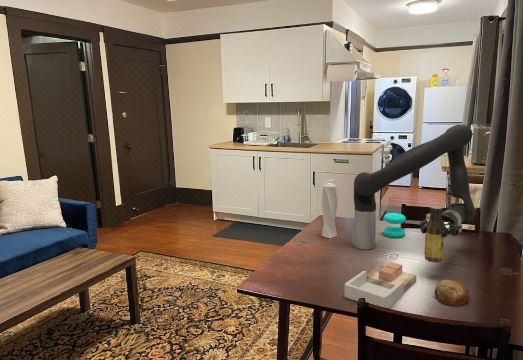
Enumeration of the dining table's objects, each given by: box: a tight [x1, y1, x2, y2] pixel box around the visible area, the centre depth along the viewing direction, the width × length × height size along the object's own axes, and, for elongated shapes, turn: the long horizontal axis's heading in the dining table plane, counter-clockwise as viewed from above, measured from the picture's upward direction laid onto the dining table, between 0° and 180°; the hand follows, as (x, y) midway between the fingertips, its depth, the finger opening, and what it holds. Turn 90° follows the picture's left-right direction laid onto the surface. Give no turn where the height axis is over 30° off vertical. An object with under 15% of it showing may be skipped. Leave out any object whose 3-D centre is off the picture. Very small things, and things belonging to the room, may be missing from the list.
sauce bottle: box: [424, 205, 445, 263], centre depth 139 cm, size 6×6×20 cm
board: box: [367, 264, 417, 294], centre depth 139 cm, size 14×12×2 cm
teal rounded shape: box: [382, 212, 407, 239], centre depth 186 cm, size 10×10×10 cm
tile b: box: [379, 265, 397, 282], centre depth 137 cm, size 4×4×3 cm
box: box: [343, 270, 404, 309], centre depth 130 cm, size 15×14×4 cm
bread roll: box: [433, 279, 470, 307], centre depth 126 cm, size 10×10×8 cm
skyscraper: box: [321, 178, 338, 238], centre depth 185 cm, size 8×8×28 cm
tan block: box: [384, 261, 403, 277], centre depth 140 cm, size 4×4×3 cm
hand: (432, 232), depth 138 cm, fingers closed on sauce bottle, 6 cm apart
